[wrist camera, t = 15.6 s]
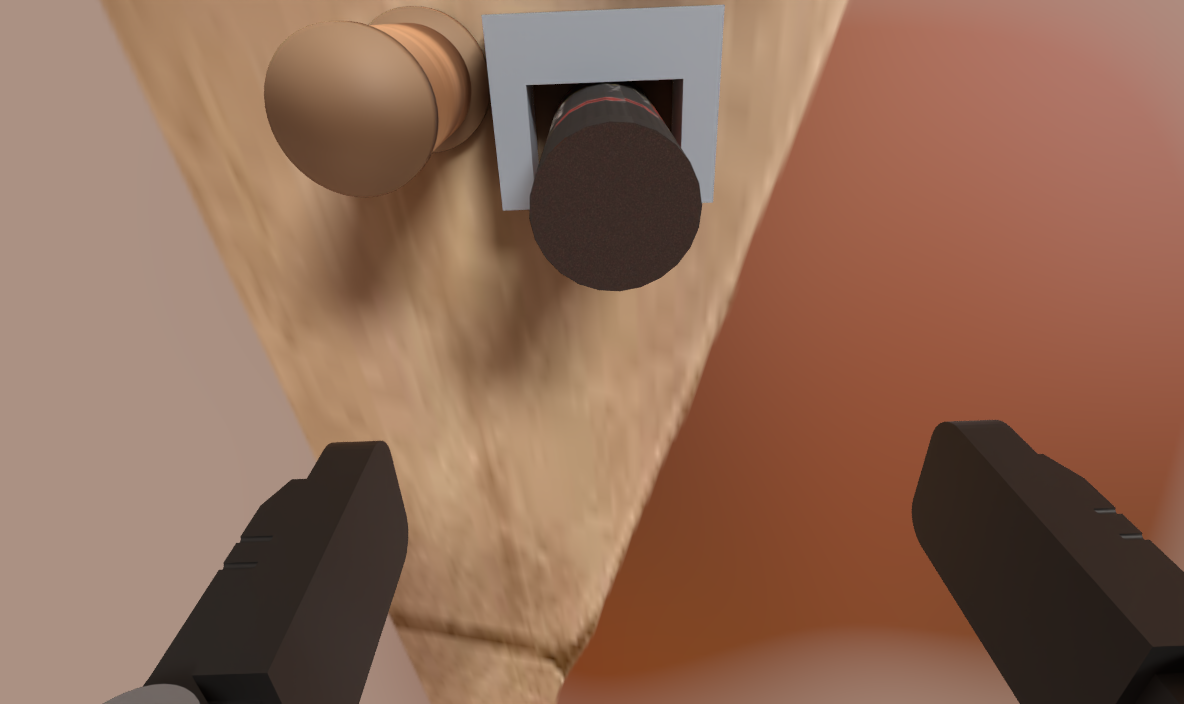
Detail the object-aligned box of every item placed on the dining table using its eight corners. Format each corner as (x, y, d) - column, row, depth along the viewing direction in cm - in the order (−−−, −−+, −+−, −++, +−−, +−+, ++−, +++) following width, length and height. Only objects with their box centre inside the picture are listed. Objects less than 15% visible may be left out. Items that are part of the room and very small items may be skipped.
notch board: (492, 14, 31) (481, 14, 28) (709, 5, 31) (724, 4, 28) (510, 190, 36) (502, 210, 32) (700, 183, 36) (712, 202, 32)
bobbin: (344, 9, 31) (222, 8, 21) (482, 3, 31) (429, 0, 21) (373, 151, 35) (281, 213, 24) (497, 146, 34) (459, 206, 24)
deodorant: (560, 65, 32) (542, 104, 19) (670, 87, 33) (723, 140, 20) (544, 176, 35) (518, 276, 22) (645, 195, 36) (677, 303, 23)
